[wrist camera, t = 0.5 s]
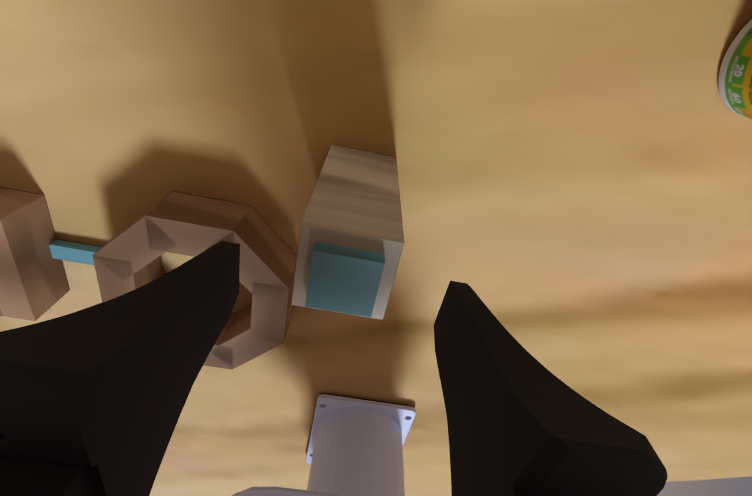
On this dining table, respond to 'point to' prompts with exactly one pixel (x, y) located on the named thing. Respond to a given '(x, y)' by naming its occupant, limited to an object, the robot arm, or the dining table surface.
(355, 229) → the brown and teal block
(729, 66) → the supplement bottle
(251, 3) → the dining table surface
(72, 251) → the light blue thin bar
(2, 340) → the robot arm
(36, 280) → the threaded bead
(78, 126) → the dining table surface
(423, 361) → the dining table surface
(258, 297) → the brown faceted ring
